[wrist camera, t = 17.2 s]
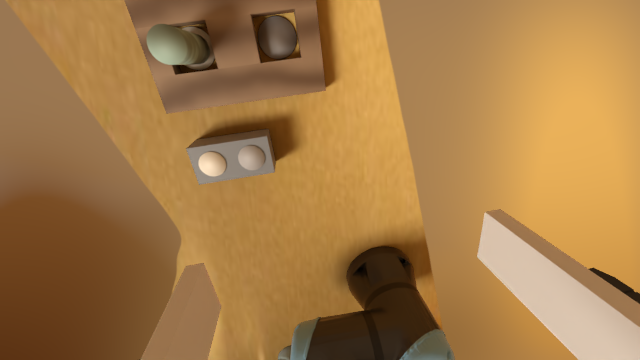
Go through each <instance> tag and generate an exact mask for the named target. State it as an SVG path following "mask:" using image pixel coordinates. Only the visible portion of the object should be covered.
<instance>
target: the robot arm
mask: <svg viewBox="0 0 640 360" xmlns="http://www.w3.org/2000/svg"><path fill="white" fill-rule="evenodd" d="M477 257H478V258H479V259H480V260H481V261H482V263H484V264H485V265H486V267H488V268H489V269H490V271H491V272H492V273H493V274H494V275H495V276H496V277H497V278H498V279H499V280H500V281H501V282H502V283H503V284H504V285H505V286H506V287H507V288H508V289H509V290H510V291H511V292H512V293H513V294H514V295H515V296H516V297H517V298H518V299H519V300H520V301H521V302H522V303H523V304H524V305H525V306H526V307H527V308H528V309H529V310H530V311H531V312H532V313H533V314H534V315H535V316H536V317H537V318H538V319H539V320H540V321H541V322H542V323H543V324H544V325H545V326H546V327H547V328H548V329H549V330H550V331H551V332H552V333H553V334H554V335H555V336H556V337H557V338H558V339H559V340H560V341H561V342H562V343H563V344H564V345H565V346H566V347H567V348H568V349H569V350H570V351H571V352H572V353H573V354H574V355H575V356H576V358H578V359H579V360H640V294H639V293H638V292H634V291H633V289H632V288H630V287H628V286H627V285H625V284H624V283H622V282H621V281H619V280H618V279H616V278H615V277H612V276H610V275H608V274H606V273H604V272H601V271H599V270H597V269H595V268H590V269H587V268H586V267H584V266H583V265H581V264H580V263H579V262H577V261H575V260H574V259H573V258H571V257H570V256H568V255H567V254H565V253H564V252H562V251H561V250H559V249H558V248H556V247H555V246H554V245H552V244H551V243H549V242H548V241H546V240H545V239H543V238H542V237H540V236H539V235H537V234H536V233H534V232H533V231H531V230H530V229H528V228H527V227H526V226H524V225H523V224H521V223H520V222H518V221H517V220H515V219H514V218H512V217H511V216H509V215H508V214H506V213H505V212H504V211H502V210H500V209H499V210H493V211H488V212H485V215H484V220H483V226H482V232H481V237H480V244H479V249H478V254H477ZM347 282H348V286H349V289H350V291H351V293H352V295H353V296H354V297H355V299H356V300H357V301H358V303H359V304H360V305H361V306H362V308H363V309H364V310H365V311H358V312H353V313H347V314H341V315H335V316H328V317H322V318H321V317H318V318H316V319H314V320H309V321H305V322H302V323H300V324H299V325H298V326H297V327H296V328H295V331H294V334H293V338H292V345H291V357H290V360H455V358H454V354H453V351H452V349H451V348H450V345H449V344H448V342H447V340H446V338H445V334H444V332H443V331H442V330H441V329H440V327H439V325H438V324H437V322H436V320H435V319H434V317H433V315H432V314H431V312H430V310H429V309H428V307H427V305H426V304H425V302H424V300H423V298H422V297H421V295H420V293H419V292H418V290H417V287H416V281H415V276H414V270H413V267H412V264H411V262H410V261H409V259H408V258H407V256H406V255H405V254H404V253H403V252H402V251H400V250H398V249H396V248H392V247H377V248H373V249H370V250H368V251H366V252H364V253H362V254H361V255H359V256H358V257H357V258H356V259H355V260H354V261H353V262H352V263H351V265H350V267H349V269H348V271H347ZM220 309H221V304H220V302H219V299H218V297H217V294H216V292H215V290H214V287H213V285H212V282H211V280H210V278H209V275H208V273H207V270H206V268H205V265H204V263H200V264H195V265H189V266H186V267H185V269H184V271H183V273H182V275H181V277H180V279H179V281H178V283H177V285H176V287H175V290H174V292H173V294H172V296H171V298H170V300H169V302H168V304H167V306H166V308H165V310H164V312H163V315H162V316H161V319H160V321H159V323H158V325H157V327H156V329H155V331H154V333H153V335H152V337H151V339H150V341H149V344H148V345H147V347H146V350H145V352H144V354H143V356H142V358H141V360H207V359H208V356H209V352H210V348H211V344H212V340H213V336H214V332H215V328H216V325H217V321H218V317H219V313H220Z"/></svg>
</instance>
